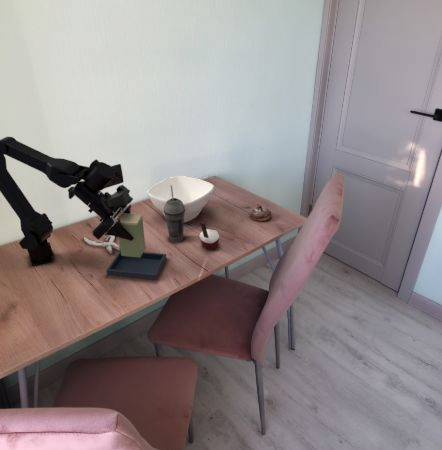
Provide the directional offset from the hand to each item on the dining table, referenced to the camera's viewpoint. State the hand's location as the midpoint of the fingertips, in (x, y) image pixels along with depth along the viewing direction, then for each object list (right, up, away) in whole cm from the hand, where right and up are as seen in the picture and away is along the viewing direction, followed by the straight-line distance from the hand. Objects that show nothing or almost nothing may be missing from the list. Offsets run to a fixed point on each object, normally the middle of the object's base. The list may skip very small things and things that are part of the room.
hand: (135, 235), depth 119 cm
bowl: (+10, +8, +37) cm, 39 cm away
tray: (-1, -10, +8) cm, 13 cm away
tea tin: (-1, -5, +4) cm, 6 cm away
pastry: (+41, +7, +36) cm, 55 cm away
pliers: (-15, -3, +20) cm, 25 cm away
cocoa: (+21, -4, +18) cm, 28 cm away
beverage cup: (+10, -1, +23) cm, 25 cm away
